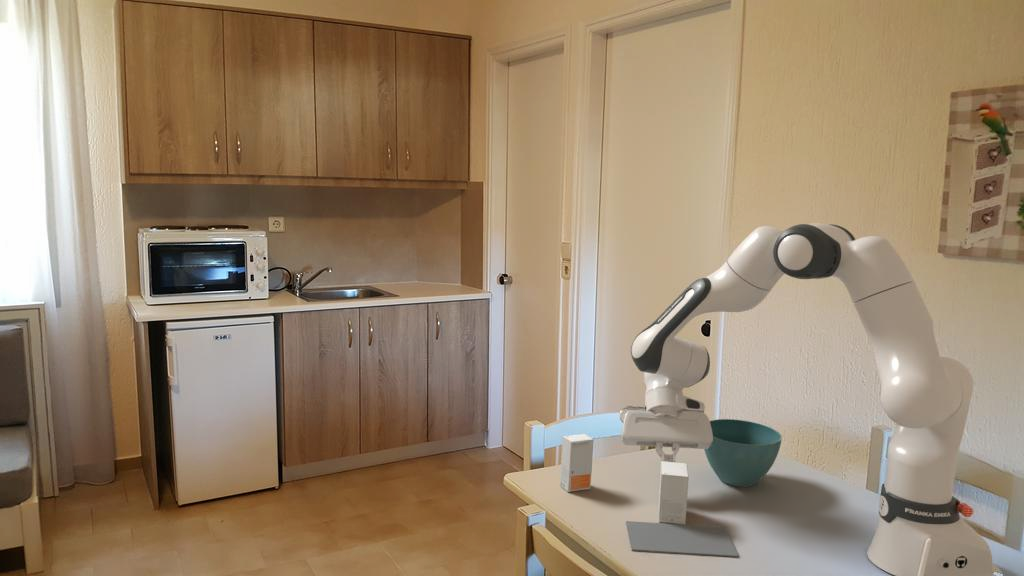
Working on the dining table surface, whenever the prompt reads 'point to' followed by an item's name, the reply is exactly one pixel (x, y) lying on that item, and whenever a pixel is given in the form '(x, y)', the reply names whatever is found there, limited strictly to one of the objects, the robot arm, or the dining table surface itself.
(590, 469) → the skincare box
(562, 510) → the dining table surface
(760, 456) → the teal bowl
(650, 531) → the mat
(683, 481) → the small box
